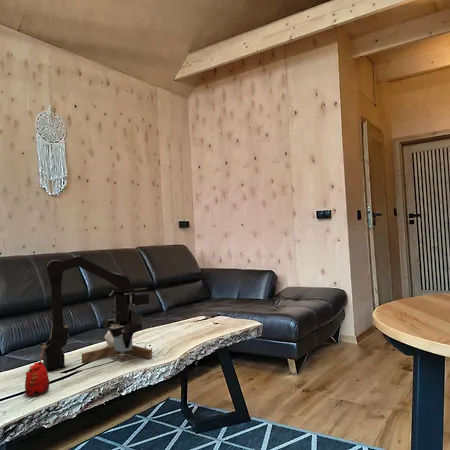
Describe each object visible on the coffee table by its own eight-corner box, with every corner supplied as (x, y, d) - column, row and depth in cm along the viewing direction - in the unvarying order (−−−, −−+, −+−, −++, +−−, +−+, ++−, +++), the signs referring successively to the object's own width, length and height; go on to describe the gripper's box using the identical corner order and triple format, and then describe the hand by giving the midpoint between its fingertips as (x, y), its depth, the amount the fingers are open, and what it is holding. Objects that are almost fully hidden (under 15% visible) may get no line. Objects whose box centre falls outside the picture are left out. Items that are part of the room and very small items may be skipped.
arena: (109, 371, 147) (109, 361, 147) (81, 362, 159) (81, 353, 159) (152, 358, 161) (151, 349, 162) (123, 351, 174) (123, 342, 174)
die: (114, 351, 177) (127, 331, 180) (98, 341, 178) (111, 321, 181) (119, 353, 184) (131, 334, 187) (103, 343, 186) (115, 324, 189)
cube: (132, 349, 164) (132, 336, 164) (121, 352, 160) (121, 338, 160) (124, 347, 167) (124, 334, 167) (114, 350, 163) (113, 337, 163)
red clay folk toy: (23, 391, 130) (22, 343, 131) (47, 386, 134) (46, 340, 134) (26, 399, 124) (25, 348, 124) (51, 394, 127) (50, 344, 128)
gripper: (153, 306, 164) (154, 346, 163) (125, 302, 176) (126, 339, 176) (129, 310, 156) (130, 352, 155) (102, 306, 168) (103, 345, 167)
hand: (123, 347), depth 164 cm, fingers closed on cube, 5 cm apart
